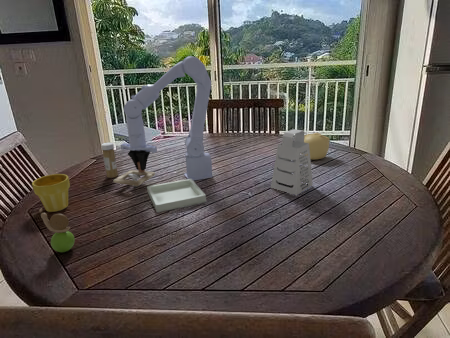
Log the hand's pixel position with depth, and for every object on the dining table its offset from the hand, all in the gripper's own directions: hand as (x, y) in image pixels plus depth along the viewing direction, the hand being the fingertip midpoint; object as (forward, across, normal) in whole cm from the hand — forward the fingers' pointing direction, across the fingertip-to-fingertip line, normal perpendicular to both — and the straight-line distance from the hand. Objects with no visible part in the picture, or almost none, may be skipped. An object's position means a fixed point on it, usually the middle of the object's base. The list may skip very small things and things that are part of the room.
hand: (141, 169), depth 125 cm
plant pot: (+5, -14, -27) cm, 31 cm away
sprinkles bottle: (+5, -16, +1) cm, 17 cm away
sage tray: (+5, +19, -8) cm, 21 cm away
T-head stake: (+5, 0, -4) cm, 7 cm away
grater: (+6, +54, +13) cm, 55 cm away
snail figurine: (+5, +8, -45) cm, 46 cm away
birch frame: (+2, 0, -4) cm, 5 cm away
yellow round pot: (+6, +56, +47) cm, 73 cm away
